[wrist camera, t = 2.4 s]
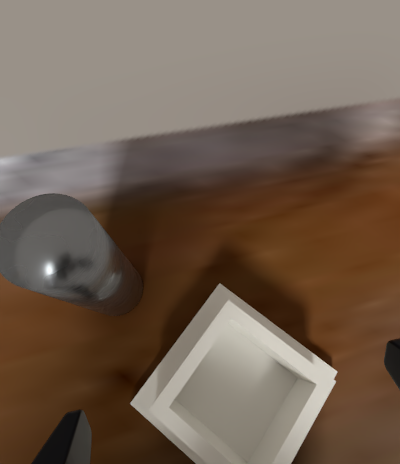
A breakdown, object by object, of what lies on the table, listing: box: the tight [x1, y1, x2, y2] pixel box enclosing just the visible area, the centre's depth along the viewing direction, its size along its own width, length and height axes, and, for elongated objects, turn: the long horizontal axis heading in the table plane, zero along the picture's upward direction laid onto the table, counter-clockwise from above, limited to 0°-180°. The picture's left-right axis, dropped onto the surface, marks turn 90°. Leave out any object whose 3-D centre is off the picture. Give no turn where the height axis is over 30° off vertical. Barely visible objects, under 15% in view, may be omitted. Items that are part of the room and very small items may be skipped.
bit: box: [0, 194, 143, 316], centre depth 18 cm, size 4×4×12 cm
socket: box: [130, 283, 337, 464], centre depth 19 cm, size 10×10×4 cm
